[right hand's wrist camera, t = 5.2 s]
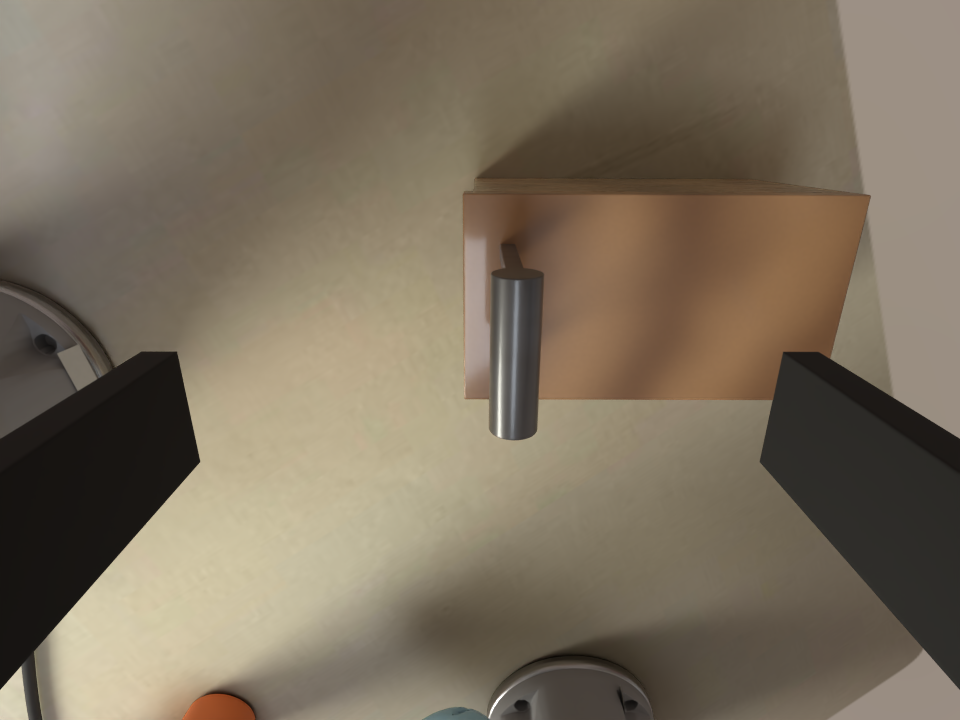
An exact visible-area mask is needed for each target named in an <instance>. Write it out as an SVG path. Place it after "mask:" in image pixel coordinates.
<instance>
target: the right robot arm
mask: <svg viewBox="0 0 960 720" xmlns="http://www.w3.org/2000/svg"><path fill="white" fill-rule="evenodd" d="M199 463H200V458H199V454H198V449H197V444H196V439H195V435H194V430H193V425H192V421H191V416H190V411H189V406H188V402H187V397H186V392H185V388H184V383H183V378H182V373H181V369H180V364H179V359H178V355H177V352H140V353H139V354H137V355H135V356H134V357H132V358H131V359H129V360H127V361H126V362H124V363H122V364H121V365H119V366H118V367H116V368H114V369H113V368H112V366H111V364H110V361H109V360H108V358H107V356H106V354H105V352H104V351H103V349H102V348H101V346H100V345H99V343H98V342H97V341H96V339H95V338H94V337H93V336H92V334H91V333H90V332H89V331H88V330H87V329H86V328H85V327H84V326H83V325H82V324H81V323H80V322H79V321H78V320H77V319H76V318H75V317H74V316H73V315H71V314H70V313H69V312H68V311H66V310H65V309H64V308H62V307H61V306H59V305H58V304H56V303H55V302H53V301H52V300H50V299H48V298H47V297H45V296H43V295H41V294H39V293H37V292H35V291H33V290H31V289H28V288H26V287H23V286H20V285H17V284H14V283H11V282H7V281H2V280H0V689H1V688H2V687H3V686H4V685H5V684H6V683H7V681H8V680H9V679H10V678H11V677H12V676H13V675H14V673H15V672H16V671H17V670H18V669H19V668H20V667H21V666H22V675H23V684H24V692H25V699H26V706H27V712H28V717H29V720H42V715H41V709H40V702H39V695H38V687H37V678H36V668H35V658H34V651H35V650H36V648H37V647H38V646H39V645H40V644H41V643H42V642H43V640H44V639H45V638H46V637H47V636H48V635H49V634H50V632H51V631H52V630H53V629H54V628H55V627H56V626H57V624H58V623H59V622H60V621H61V620H62V619H63V618H64V616H65V615H66V614H67V613H68V612H69V611H70V610H71V609H72V607H73V606H74V605H75V604H76V603H77V602H78V601H79V599H80V598H81V597H82V596H83V595H84V594H85V593H86V591H87V590H88V589H89V588H90V587H91V586H92V585H93V583H94V582H95V581H96V580H97V579H98V578H99V577H100V575H101V574H102V573H103V572H104V571H105V570H106V569H107V568H108V566H109V565H110V564H111V563H112V562H113V561H114V560H115V558H116V557H117V556H118V555H119V554H120V553H121V552H122V550H123V549H124V548H125V547H126V546H127V545H128V544H129V542H130V541H131V540H132V539H133V538H134V537H135V536H136V534H137V533H138V532H139V531H140V530H141V529H142V528H143V526H144V525H145V524H146V523H147V522H148V521H149V520H150V519H151V517H152V516H153V515H154V514H155V513H156V512H157V511H158V509H159V508H160V507H161V506H162V505H163V504H164V503H165V501H166V500H167V499H168V498H169V497H170V496H171V495H172V493H173V492H174V491H175V490H176V489H177V488H178V487H179V485H180V484H181V483H182V482H183V481H184V480H185V479H186V478H187V476H188V475H189V474H190V473H191V472H192V471H193V470H194V468H195V467H196V466H197V465H198V464H199ZM760 463H761V464H762V465H763V466H764V467H765V468H766V470H767V471H768V472H769V473H770V474H771V475H772V476H773V478H774V479H775V480H776V481H777V482H778V483H779V484H780V485H781V487H782V488H783V489H784V490H785V491H786V492H787V493H788V495H789V496H790V497H791V498H792V499H793V500H794V501H795V503H796V504H797V505H798V506H799V507H800V508H801V509H802V511H803V512H804V513H805V514H806V515H807V516H808V517H809V519H810V520H811V521H812V522H813V523H814V524H815V525H816V526H817V528H818V529H819V530H820V531H821V532H822V533H823V534H824V536H825V537H826V538H827V539H828V540H829V541H830V542H831V544H832V545H833V546H834V547H835V548H836V549H837V550H838V552H839V553H840V554H841V555H842V556H843V557H844V558H845V560H846V561H847V562H848V563H849V564H850V565H851V566H852V568H853V569H854V570H855V571H856V572H857V573H858V574H859V575H860V577H861V578H862V579H863V580H864V581H865V582H866V583H867V585H868V586H869V587H870V588H871V589H872V590H873V591H874V593H875V594H876V595H877V596H878V597H879V598H880V599H881V601H882V602H883V603H884V604H885V605H886V606H887V607H888V609H889V610H890V611H891V612H892V613H893V614H894V615H895V617H896V618H897V619H898V620H899V621H900V622H901V623H902V624H903V626H904V627H905V628H906V629H907V630H908V631H909V632H910V634H911V635H912V636H913V637H914V638H915V639H916V640H917V642H918V643H919V644H920V645H921V646H922V647H923V648H924V650H925V651H926V652H927V653H928V654H929V655H930V656H931V657H932V659H933V660H934V661H935V662H936V663H937V664H938V665H939V667H940V668H941V669H942V670H943V671H944V672H945V673H946V675H947V676H948V677H949V678H950V679H951V680H952V681H953V683H954V684H955V685H956V686H957V687H958V688H959V689H960V439H959V438H958V437H956V436H954V435H953V434H951V433H950V432H948V431H946V430H945V429H943V428H941V427H940V426H938V425H936V424H935V423H933V422H932V421H930V420H928V419H927V418H925V417H924V416H922V415H920V414H919V413H917V412H915V411H914V410H912V409H911V408H909V407H907V406H906V405H904V404H902V403H901V402H899V401H898V400H896V399H894V398H893V397H891V396H889V395H888V394H886V393H885V392H883V391H881V390H880V389H878V388H877V387H875V386H873V385H872V384H870V383H868V382H867V381H865V380H864V379H862V378H860V377H859V376H857V375H855V374H854V373H852V372H851V371H849V370H847V369H846V368H844V367H842V366H841V365H839V364H838V363H836V362H834V361H833V360H831V359H829V358H828V357H826V356H825V355H823V354H821V353H820V352H783V355H782V359H781V364H780V369H779V373H778V378H777V383H776V388H775V392H774V397H773V402H772V406H771V411H770V416H769V421H768V425H767V430H766V435H765V439H764V444H763V449H762V454H761V458H760Z"/></svg>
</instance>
